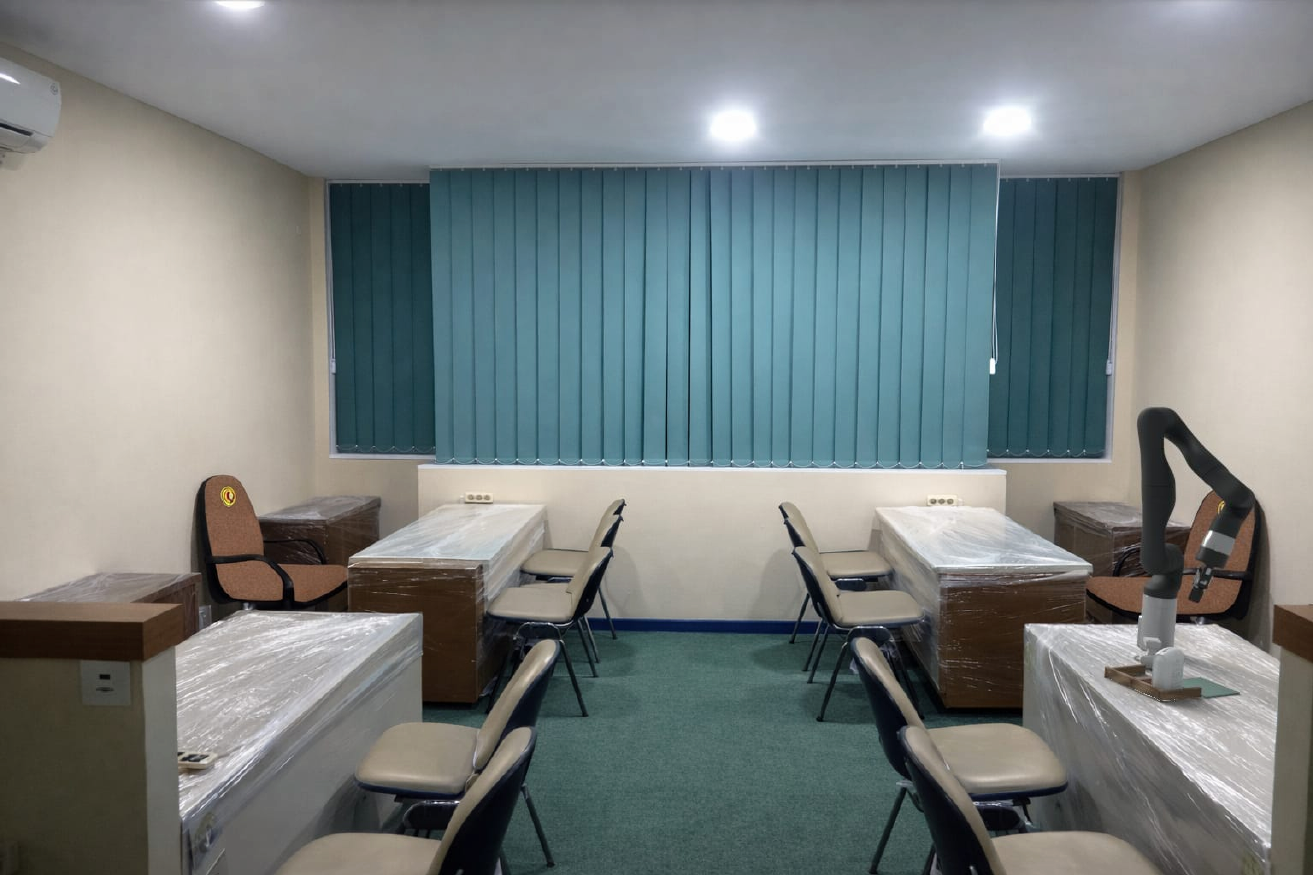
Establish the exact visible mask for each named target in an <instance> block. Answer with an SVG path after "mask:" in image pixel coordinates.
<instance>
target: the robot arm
mask: <svg viewBox="0 0 1313 875" xmlns="http://www.w3.org/2000/svg"><path fill="white" fill-rule="evenodd" d="M1136 430H1137V437H1138V438H1137V439H1138V444H1139V450H1140V472H1141V473H1140V474H1141V475H1140V476H1141V477H1140V478H1141V481H1140V482H1141V486H1140V487H1141V490H1140V491H1141V509H1142V510H1141V525H1142V526H1141V541H1140V549H1139V550H1140V551H1139V552H1140V553H1139V560H1140V564H1141V567H1142V568H1143V570H1144V571H1145V572H1146V573H1147V574H1149V575H1151V578H1150V580H1148V581H1147V582H1146V583H1144V585H1143V590H1142V592H1143V593H1142V602H1141V603H1142V605H1141V615H1139V616H1138V622H1137V634H1136V646H1137V647H1139V648H1140V650H1142V651H1147V650H1148V648H1146V646H1145V644H1144V641H1143V637H1151V638H1158V639H1159V640H1160V642H1161V647H1160V649H1156V651H1155V652H1159V651H1160V650H1162V649H1164V648H1167V647H1174V648H1175V636H1176V634H1175V633H1176V621H1177V611H1178V610H1177V608H1178V595H1179V591H1181V588H1182V585H1183V578H1184V577H1183V576H1184V570H1185V569H1184V568H1185V557H1184V553H1183V552H1182V550H1181V548H1180V547H1179V546H1178V545H1176V544H1173V543H1168V542H1167V543H1166V529H1167V526H1168V523H1169V520H1170V518H1171V516H1172V514H1173V511H1174V509H1175V507H1176V502H1177V501H1176V500H1177V488H1176V487H1177V485H1176V484H1177V483H1176V477H1175V475H1174V473H1173V470H1172V468H1171V465H1170V463H1169V462H1168V460H1167V455H1166V453H1165V439H1166V440H1168V441H1169V442H1170V443H1171V444H1173V445H1174V446H1175V447H1176V448H1177V449H1178V450H1179V451H1180V453H1181V454H1182V456H1183V458H1184V460H1185V462H1186V464H1187V466H1188V467H1189V468H1190V469H1191V471H1192V472H1193V473H1194V475H1197V477H1198V478H1199V479H1200V480H1202V481H1203V483H1205V484H1206V485H1207V486H1209V487H1210V488H1211V490H1212V491H1213V492H1214V493H1215V494H1216V495H1217V496H1218V497H1219V498H1220V499H1221V500H1222V501H1223V502H1224V504H1223V506H1222V508H1221V510H1220V512H1219V513H1217V514H1215V515H1214V517H1213V518H1212V520H1211V523H1210V525H1209V527H1208V529H1207V532H1206V534H1205V535H1204V537H1203V539H1202V542H1201V543H1200V546H1199V548H1198V551H1197V552H1196V555H1195V557H1194V559H1195V560H1196V561H1197V562H1199V563H1202V566H1200V567H1199V568H1197V570H1196V572H1195V576H1194V578H1193V582H1192V584H1191V587H1192V588H1191V590H1190V592H1189V594H1188V598H1187V601H1191V602H1193V603H1195V604H1200V602H1201V601H1202V600H1201V599H1202V597H1203V595H1204V592H1206V590H1207V589H1208V587H1209V586H1210V584H1211V581H1212V580H1213V579H1214V576H1215V569H1214V568H1216V569H1219V570H1222V571H1223V570H1225V568H1226V566H1227V562H1228V561H1229V559H1230V556H1231V554H1232V552H1233V549H1234V546H1235V543H1236V540H1237V537H1238V535H1239V533H1240V530H1241V528H1242V525H1243V523H1244V522H1245V521H1246V520H1247V518H1248V517H1249V515H1250V513H1251V512H1252V510H1253V508H1254V506H1255V503H1256V495H1255V493H1254V491H1253V490H1252V489H1251V488H1250V487H1248V486H1247V485H1246V484H1245V483H1243V482H1242V481H1241V480H1240V479H1239V478H1237V477H1236V476H1235V475H1234V474H1233V473H1231V472H1230V470H1229V469H1228V468H1227V466H1225V464H1223V462H1221V460H1219V459H1218V458H1217V457H1216V456H1215V455H1213V453H1211V452H1210V451H1209V450H1208V449H1207V447H1205V445H1204V444H1202V442H1201V441H1200V440H1199V439H1198V438H1197V437H1196V435H1195V434H1194V433H1193V432H1192V431H1191V429H1190V428H1189V427H1188V425H1186V423H1185V422H1184V420H1183V419H1182V418H1181V416H1180V415H1179V414H1178V412H1176V411H1175V410H1174V409H1172V408H1170V407H1165V406H1160V407H1159V406H1156V407H1155V406H1154V407H1153V406H1152V407H1146V408H1144V409H1142V410H1141V411H1139V414H1138V416H1137V421H1136Z"/></svg>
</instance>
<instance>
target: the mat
mask: <svg viewBox="0 0 1313 875" xmlns="http://www.w3.org/2000/svg"><path fill="white" fill-rule="evenodd" d="M1191 687H1201V688H1202V692H1201V698H1205V699H1211V698H1220V697H1227V696H1233V695H1240V694H1241V691H1237V690H1235V689H1232V688H1231V687H1227V686H1224V685H1222V684H1219V683H1217V682H1214V681H1212V680H1210V679H1207V678H1204V677H1202V676H1198V677H1190V678H1183V680H1182V689H1183V688H1191Z"/></svg>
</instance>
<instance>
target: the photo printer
mask: <svg viewBox="0 0 1313 875" xmlns="http://www.w3.org/2000/svg"><path fill="white" fill-rule="evenodd" d="M1184 664H1185V654H1184V651H1183V650H1181V649H1180V648H1178V647H1175V646H1174V647H1167V648H1164V649H1162V650H1160V651H1159V652H1157V653H1156V655H1155V656H1154V659H1153V669H1151V670H1152V672H1151V677H1152V683H1151V685H1153V686H1155V687H1157V688H1160V689H1162V690H1164V691H1167V690H1175V689H1183V688H1182V680H1183V679H1184V666H1185V665H1184Z"/></svg>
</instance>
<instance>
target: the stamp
mask: <svg viewBox="0 0 1313 875" xmlns="http://www.w3.org/2000/svg"><path fill="white" fill-rule="evenodd" d="M1143 641H1144V644H1145V646H1146V648H1148V650H1147V651H1145V650H1142V649H1139V650H1137V652H1136V655H1134V656H1133V660H1134V661H1136V662H1139V663H1140V664H1144V665H1146V669H1150V670H1153V659H1154V656H1155V655H1156V653H1157V652H1155V651H1156V649H1160V647H1161V642H1160V640H1159V639H1158V638H1151V637H1143Z"/></svg>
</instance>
